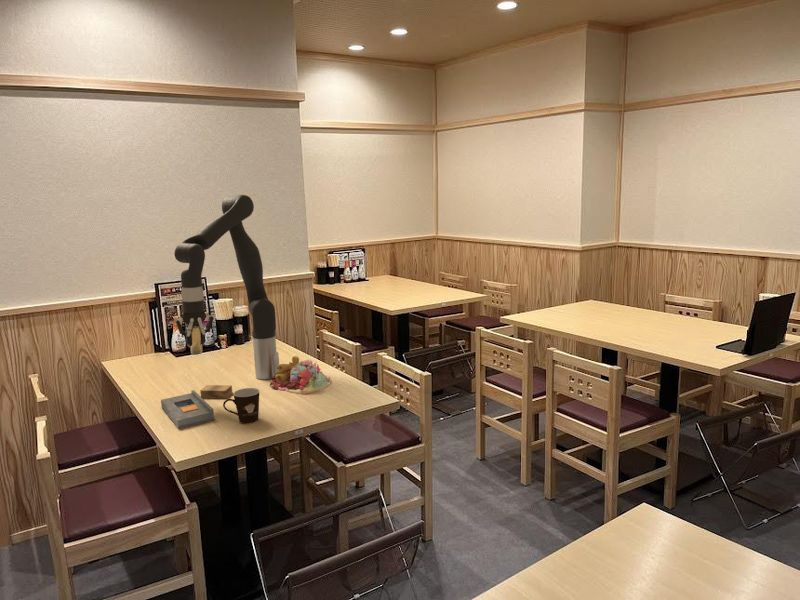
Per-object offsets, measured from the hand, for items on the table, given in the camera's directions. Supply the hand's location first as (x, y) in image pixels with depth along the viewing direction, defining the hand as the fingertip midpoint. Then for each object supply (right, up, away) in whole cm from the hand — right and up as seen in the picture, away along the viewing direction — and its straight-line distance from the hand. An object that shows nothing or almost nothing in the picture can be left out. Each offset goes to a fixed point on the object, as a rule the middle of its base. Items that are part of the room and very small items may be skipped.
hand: (196, 344), depth 220 cm
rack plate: (-1, -24, -7) cm, 25 cm away
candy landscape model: (+35, -17, +23) cm, 45 cm away
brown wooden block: (+4, -20, +11) cm, 23 cm away
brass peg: (0, -3, +1) cm, 3 cm away
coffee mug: (+21, -25, -14) cm, 36 cm away
